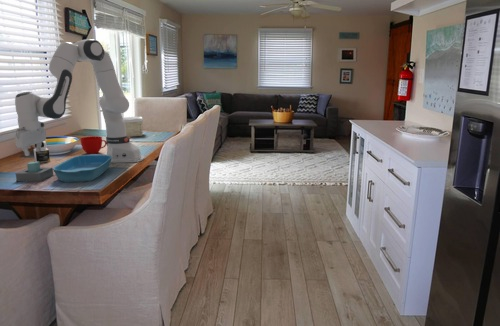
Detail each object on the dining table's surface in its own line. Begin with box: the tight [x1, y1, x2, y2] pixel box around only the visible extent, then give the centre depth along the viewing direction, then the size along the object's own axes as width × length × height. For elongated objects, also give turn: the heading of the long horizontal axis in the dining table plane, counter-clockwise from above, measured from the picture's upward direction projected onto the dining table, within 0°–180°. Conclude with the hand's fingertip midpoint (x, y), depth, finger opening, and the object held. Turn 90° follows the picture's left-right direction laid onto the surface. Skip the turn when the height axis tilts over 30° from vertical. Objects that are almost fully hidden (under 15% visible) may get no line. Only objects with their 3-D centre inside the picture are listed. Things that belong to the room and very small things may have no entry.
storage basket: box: [122, 116, 144, 138], centre depth 326 cm, size 24×16×15 cm
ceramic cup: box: [79, 136, 107, 155], centre depth 260 cm, size 13×17×10 cm
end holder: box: [15, 166, 54, 182], centre depth 203 cm, size 12×12×4 cm
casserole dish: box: [52, 153, 112, 183], centre depth 209 cm, size 37×22×7 cm, turn 1°
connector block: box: [26, 161, 41, 172], centre depth 202 cm, size 4×4×7 cm
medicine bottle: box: [33, 140, 51, 163], centre depth 239 cm, size 7×7×12 cm
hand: (33, 153), depth 201 cm, fingers open, 8 cm apart
